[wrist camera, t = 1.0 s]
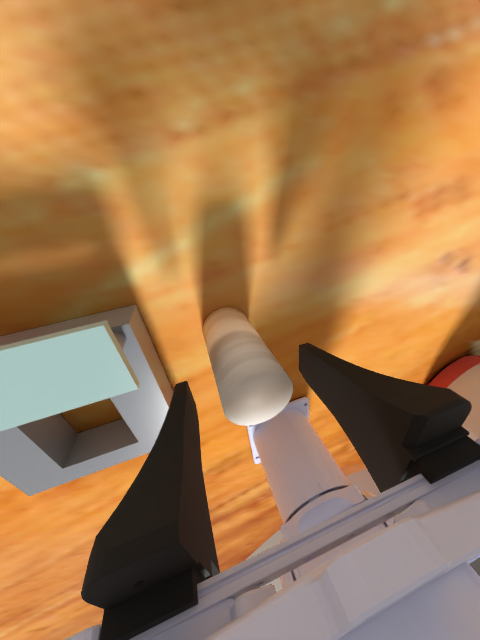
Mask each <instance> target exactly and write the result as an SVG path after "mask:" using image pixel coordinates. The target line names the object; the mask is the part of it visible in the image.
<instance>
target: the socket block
mask: <svg viewBox="0 0 480 640" xmlns="http://www.w3.org/2000/svg"><path fill="white" fill-rule="evenodd" d="M173 392H174V391H173V389H172V387H171V384H170V382H169V380H168V377H167V375H166V373H165V371H164V368H163V366H162V364H161V361H160V359H159V357H158V354H157V352H156V350H155V347H154V345H153V343H152V340H151V338H150V336H149V333H148V331H147V329H146V326H145V324H144V322H143V319H142V317H141V315H140V312H139V310H138V308H137V305H136V304H135V305H131V306H126V307H122V308H118V309H114V310H110V311H105V312H101V313H97V314H93V315H89V316H84V317H80V318H76V319H72V320H67V321H63V322H59V323H55V324H51V325H46V326H42V327H38V328H34V329H29V330H25V331H21V332H17V333H13V334H8V335H4V336H0V476H1V477H3V478H4V479H6V480H7V481H8V482H10V483H11V484H13V485H14V486H16V487H17V488H18V489H20V490H21V491H23V492H24V493H26V494H27V495H28V496H31V495H34V494H36V493H39V492H42V491H45V490H47V489H50V488H53V487H56V486H58V485H61V484H64V483H67V482H69V481H72V480H75V479H78V478H80V477H83V476H86V475H89V474H91V473H94V472H97V471H100V470H102V469H105V468H108V467H111V466H113V465H116V464H119V463H122V462H124V461H127V460H130V459H133V458H135V457H138V456H141V455H144V454H146V453H149V452H151V450H152V448H153V445H154V443H155V441H156V439H157V437H158V435H159V432H160V430H161V427H162V425H163V422H164V420H165V417H166V414H167V412H168V409H169V406H170V403H171V399H172V396H173ZM107 398H110V399H111V401H112V402H113V404H114V405H115V407H116V408H117V410H118V411H119V413H120V414H121V416H122V417H123V419H120V420H117V421H114V422H110V423H107V424H104V425H101V426H98V427H95V428H92V429H89V430H86V431H83V432H80V433H77V432H76V431H75V430H74V429H73V428H72V427H71V425H70V424H69V423H68V422H67V421H66V420H65V419H64V417H63V416H62V415H61V414H60V413H62V412H65V411H68V410H72V409H75V408H78V407H81V406H85V405H88V404H91V403H94V402H98V401H101V400H104V399H107Z"/></svg>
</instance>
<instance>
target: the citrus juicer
mask: <svg viewBox="0 0 480 640" xmlns="http://www.w3.org/2000/svg"><path fill="white" fill-rule="evenodd" d="M427 385H430V386H436V387H442V388H448V389H451V390H453V391H454V392H456V393H457V394H459V395H460V396H462V397H463V398H465V399H467V400H468V401H470V402H471V405H472V409H471V411H470V413H469V415H468V417H467V418H466V420H465V421H464V423H463V425H462V427H463V428H465V429H466V430H467V431H469V433H470V434H469V435H468V437H470V438H471V439H472V440H474V441H475V440H477V439H478V438H479V437H480V356H475V355H471V356H464V357H462V358H460V359H459V360H457V361H455V362H453V363H452V364H450V365H449V366H448V367H446V368H445V369H444V370H443V371H441V372H440V373H439V374H438V375H437V376H436V377H435V378H434V379H433V380H432V382H430V383H428V384H427Z"/></svg>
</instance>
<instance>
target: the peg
mask: <svg viewBox="0 0 480 640" xmlns="http://www.w3.org/2000/svg"><path fill="white" fill-rule="evenodd" d="M203 335H204V339H205V343H206V347H207V351H208V354H209V358H210V362H211V366H212V369H213V373H214V377H215V381H216V385H217V388H218V392H219V396H220V400H221V403H222V407H223V411H224V414H225V416H226V417H227V419H228V420H229V421H231V422H233V423H235V424H238V425H244V426H248V425H256V424H259V423H263V422H265V421H267V420H269V419H271V418H273V417H274V416H276V415H277V414H278V413H280V412H281V411H282V410H283V409H284V408H285V406H286V405H287V404H288V402H289V401H290V399H291V396H292V393H293V384H292V381H291V379H290V377H289V376H288V375H287V373H286V372H285V370H284V369H283V368H282V366H281V365H280V363H279V362H278V361H277V359H276V358H275V356H274V355H273V354H272V352H271V351H270V349H269V348H268V347H267V345H266V344H265V342H264V341H263V340H262V338H261V337H260V335H259V334H258V333H257V331H256V330H255V328H254V327H253V326H252V324H251V323H250V321H249V320H248V319H247V317H246V316H245V315H244V313H243V312H241V311H240V310H238V309H236V308H232V307H224V308H220V309H218V310H216V311H214V312H212V313H211V314H210V315H209V316H208V317H207V319H206V320H205V322H204V325H203Z"/></svg>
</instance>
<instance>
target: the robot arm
mask: <svg viewBox="0 0 480 640" xmlns="http://www.w3.org/2000/svg"><path fill="white" fill-rule="evenodd" d="M299 370H300V372H301V374H302V375H303V377H304V379H305V380H306V382H307V383H308V384H309V386H310V387H311V388H312V389H313V391H314V392H315V393H316V394H317V396H318V397H319V398H320V399H321V400H322V402H323V403H324V404H325V405H326V407H327V408H328V409H329V410H330V411H331V413H332V414H333V415H334V417H335V418H336V420H337V421H338V423H339V424H340V426H341V427H342V429H343V430H344V432H345V433H346V435H347V436H348V438H349V439H350V441H351V443H352V444H353V446H354V447H355V449H356V451H357V452H358V454H359V456H360V457H361V459H362V461H363V462H364V464H365V466H366V467H367V469H368V471H369V473H370V474H371V476H372V478H373V480H374V482H375V483H376V485H377V487H378V489H379V491H380V492H381V493H380V494H378V495H374V494H371V493H370V492H368V491H365V492H363V493H361V492H360V491H359V490H358V488H357V487H356V485H355V484H352V485H351V484H350V482H349V481H348V479H347V478H346V476H345V475H344V473H343V472H342V470H341V469H340V467H339V466H338V464H337V463H336V461H335V460H334V458H333V457H332V455H331V454H330V452H329V451H328V449H327V447H326V446H325V444H324V443H323V441H322V440H321V438H320V437H319V435H318V434H317V432H316V431H315V429H314V428H313V426H312V425H311V423H310V422H309V399H308V397H302V398H300V399H297V400H294V401H291V402H289V403H288V404H287V405H286V406H285V408H284V409H283V410H282V411H281V412H280V413H278V414H277V415H276V416H274V417H273V418H271V419H269V420H267V421H265V422H263V423H259V424H256V425H248V426H247V430H248V435H249V440H250V445H251V450H252V454H253V459H254V463H255V464H258V463H262V466H263V469H264V471H265V474H266V477H267V480H268V483H269V485H270V488H271V491H272V494H273V496H274V499H275V502H276V505H277V507H278V510H279V513H280V516H281V519H282V521H283V524H284V525H282V526H281V527H280V528H281V531H282V534H283V537H284V540H282V541H281V542H280V543H279V544H277V545H275V546H273V547H272V548H269V549H267V550H265V551H263V552H261V553H259V554H257V555H255V556H253V557H251V558H249V559H247V560H245V561H243V562H241V563H239V564H237V565H235V566H233V567H231V568H229V569H227V570H225V571H223V572H221V573H220V570H219V565H218V560H217V554H216V549H215V543H214V538H213V532H212V527H211V521H210V515H209V509H208V503H207V497H206V491H205V485H204V478H203V472H202V463H201V449H200V434H199V420H198V415H197V409H196V404H195V401H194V399H193V396H192V393H191V390H190V388H189V385H188V382H187V381H184V382H181V383H178V384H176V385H175V388H174V392H173V396H172V399H171V403H170V406H169V409H168V412H167V414H166V417H165V420H164V422H163V425H162V427H161V430H160V432H159V435H158V437H157V439H156V441H155V443H154V445H153V448H152V450H151V452H150V454H149V455H148V457H147V459H146V461H145V463H144V465H143V466H142V468H141V470H140V472H139V474H138V475H137V477H136V479H135V480H134V482H133V483H132V485H131V487H130V488H129V490H128V491H127V493H126V494H125V496H124V498H123V499H122V501H121V502H120V504H119V505H118V507H117V508H116V509H115V511H114V512H113V514H112V515H111V516H110V518H109V519H108V521H107V522H106V523H105V525H104V526H103V528H102V529H101V530H100V532H99V533H98V535H97V536H96V538H95V542H94V545H93V548H92V551H91V554H90V558H89V561H88V565H87V570H86V574H85V578H84V583H83V587H82V591H81V596H82V599H83V600H84V601H86V602H87V603H89V604H92V605H95V606H97V607H100V608H103V609H104V615H103V621H102V625H96V626H92V627H90V628H87V629H85V630H83V631H81V632H79V633H77V634H75V635H73V636H71V637H69V638H67V639H65V640H480V577H479V576H478V575H477V573H476V572H475V571H474V570H473V569H472V567H471V566H470V565H469V564H470V563H471V562H473V561H474V560H476V559H477V558H479V557H480V437H479V438H478V439H477V440H475V441H474V440H472V439H471V438H470V437H468V435H469V434H470V433H469V431H467V430H466V429H465V428H463V427H462V425H463V423H464V421H465V420H466V418H467V417H468V415H469V413H470V411H471V409H472V405H471V402H470V401H468V400H467V399H465V398H463V397H462V396H460V395H459V394H457V393H456V392H454V391H453V390H451V389H448V388H442V387H436V386H430V385H424V384H419V383H414V382H410V381H405V380H401V379H397V378H393V377H390V376H386V375H383V374H379V373H376V372H373V371H370V370H367V369H364V368H362V367H359V366H357V365H354V364H352V363H349V362H347V361H345V360H342V359H340V358H338V357H336V356H334V355H332V354H329V353H327V352H325V351H323V350H321V349H319V348H317V347H315V346H313V345H311V344H309V343H305V344H302V345H299ZM396 515H397V516H396ZM278 577H280V579H281V583H282V587H283V589H282V590H280V591H279V592H277V593H276V591H275V587H274V585H272V584H269V585H266V586H263V585H265V584H267V583H269V582H271V581H273V580H275V579H277V578H278ZM261 586H263V587H261Z"/></svg>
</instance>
